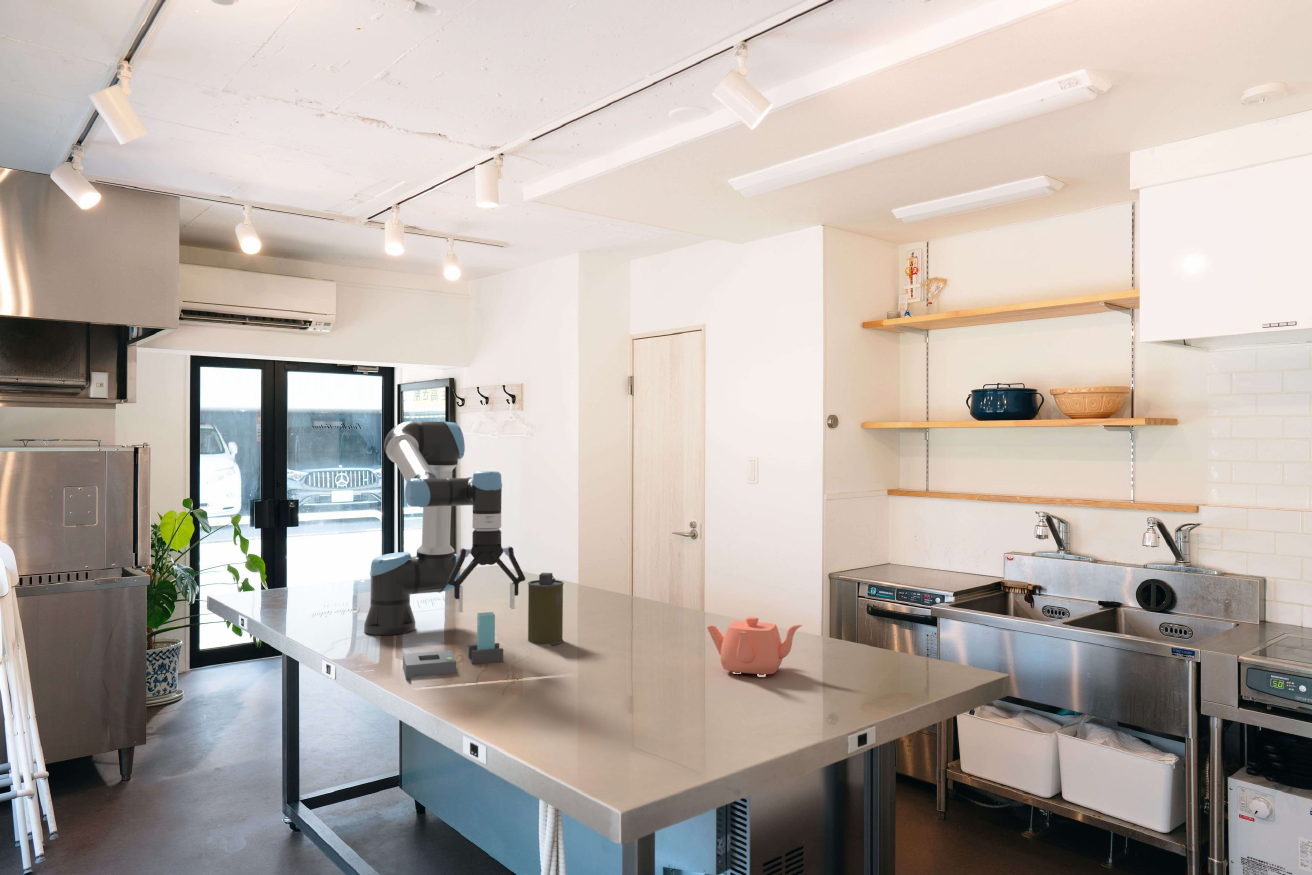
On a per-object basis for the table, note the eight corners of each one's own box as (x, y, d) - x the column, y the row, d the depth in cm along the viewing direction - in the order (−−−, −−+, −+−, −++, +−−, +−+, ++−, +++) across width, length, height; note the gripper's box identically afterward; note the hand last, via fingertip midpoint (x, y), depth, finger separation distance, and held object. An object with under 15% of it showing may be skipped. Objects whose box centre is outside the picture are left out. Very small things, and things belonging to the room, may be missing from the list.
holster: (468, 659, 224) (468, 645, 224) (498, 656, 226) (498, 642, 226) (472, 666, 217) (472, 651, 217) (503, 663, 220) (503, 649, 220)
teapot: (803, 676, 210) (803, 621, 210) (740, 685, 202) (741, 627, 202) (762, 659, 226) (763, 608, 226) (703, 667, 218) (703, 613, 218)
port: (402, 667, 215) (403, 651, 215) (450, 663, 219) (450, 647, 219) (406, 679, 204) (406, 662, 204) (456, 675, 208) (456, 658, 208)
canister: (556, 646, 238) (557, 576, 238) (521, 644, 240) (522, 575, 240) (568, 638, 249) (568, 571, 249) (534, 636, 251) (535, 569, 251)
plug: (476, 658, 223) (477, 612, 223) (492, 656, 224) (492, 612, 224) (479, 661, 219) (479, 615, 219) (494, 660, 220) (494, 614, 221)
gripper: (440, 532, 214) (439, 615, 214) (536, 529, 223) (536, 609, 222) (437, 529, 221) (436, 610, 221) (530, 526, 230) (530, 604, 229)
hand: (486, 609), depth 221 cm, fingers open, 13 cm apart
